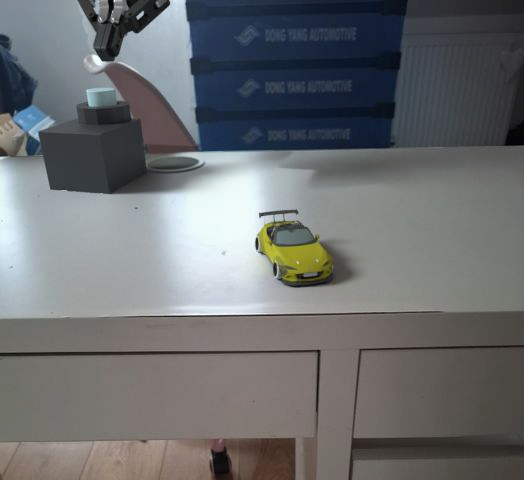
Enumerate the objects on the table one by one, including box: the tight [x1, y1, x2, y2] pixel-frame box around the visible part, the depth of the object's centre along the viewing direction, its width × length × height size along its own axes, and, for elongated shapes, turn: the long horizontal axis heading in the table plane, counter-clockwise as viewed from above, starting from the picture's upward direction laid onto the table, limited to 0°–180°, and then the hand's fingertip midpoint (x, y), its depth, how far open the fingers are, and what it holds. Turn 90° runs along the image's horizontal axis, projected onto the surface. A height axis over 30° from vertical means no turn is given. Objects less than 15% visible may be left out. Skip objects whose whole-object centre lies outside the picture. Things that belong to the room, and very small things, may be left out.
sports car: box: [254, 208, 335, 287], centre depth 47 cm, size 5×10×3 cm, turn 14°
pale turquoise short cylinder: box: [86, 87, 118, 107], centre depth 68 cm, size 3×3×2 cm
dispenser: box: [37, 99, 148, 195], centre depth 68 cm, size 11×8×8 cm
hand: (104, 56), depth 67 cm, fingers closed
